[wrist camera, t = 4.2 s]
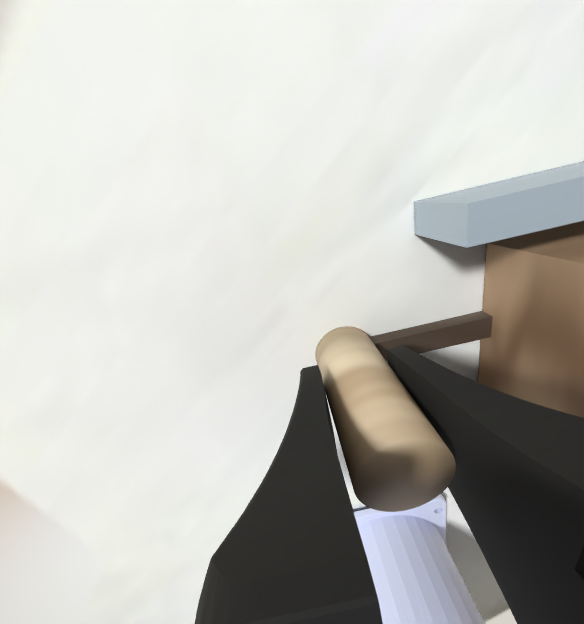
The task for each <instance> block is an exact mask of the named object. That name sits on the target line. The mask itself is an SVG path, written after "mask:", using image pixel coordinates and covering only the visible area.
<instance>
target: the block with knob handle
mask: <svg viewBox="0 0 584 624" xmlns="http://www.w3.org/2000/svg"><path fill="white" fill-rule="evenodd" d="M480 339H481V341H480V357H479V372H478V383H480V384H483V385H485V386H487V387H490V388H492V389H495V390H497V391H500V392H503V393H506V394H509V395H511V396H514V397H517V398H520V399H522V400H525V401H528V402H531V403H535V404H538V405H541V406H544V407H548V408H551V409H554V410H558V411H561V412H564V413H568V414H571V415H575V416H579V417H582V418H584V221H580V222H576V223H572V224H567V225H563V226H559V227H554V228H550V229H546V230H542V231H537V232H533V233H529V234H524V235H520V236H516V237H512V238H507V239H503V240H499V241H495V242H490V243H487V248H486V264H485V279H484V295H483V310H482V311H480V312H476V313H472V314H467V315H463V316H459V317H454V318H450V319H446V320H441V321H437V322H433V323H428V324H424V325H420V326H415V327H411V328H407V329H402V330H398V331H394V332H389V333H385V334H381V335H376V336H372V337H369V336H368V335H367V334H366V333H365V332H363V331H362V330H360V329H358V328H355V327H340V328H337V329H334V330H332V331H330V332H329V333H327V334H326V335H325V336H324V337H323V338H322V339H321V340H320V342H319V343H318V346H317V348H316V361H317V364H318V366H319V369H320V372H321V375H322V379H323V384H324V388H325V392H326V395H327V399H328V402H329V406H330V409H331V413H332V416H333V420H334V423H335V427H336V430H337V434H338V437H339V441H340V444H341V447H342V451H343V454H344V458H345V461H346V465H347V468H348V472H349V475H350V479H351V482H352V486H353V489H354V492H355V495H356V497H357V498H358V499H359V501H360V502H361V503H363V504H364V505H366V506H367V507H369V508H372V509H375V510H378V511H385V512H398V511H405V510H409V509H413V508H416V507H419V506H421V505H424V504H426V503H428V502H430V501H431V500H433V499H434V498H436V497H437V496H438V495H440V494H441V493H442V492H443V491H444V490H445V489H446V488H447V487H448V485H449V484H450V483H451V481H452V479H453V477H454V474H455V470H456V462H455V458H454V456H453V454H452V453H451V451H450V450H449V448H448V447H447V446H446V444H445V443H444V441H443V440H442V439H441V437H440V436H439V434H438V433H437V432H436V430H435V429H434V427H433V426H432V425H431V423H430V422H429V420H428V419H427V418H426V416H425V415H424V413H423V412H422V411H421V409H420V408H419V406H418V405H417V404H416V402H415V401H414V399H413V398H412V397H411V395H410V394H409V392H408V391H407V390H406V388H405V387H404V385H403V384H402V383H401V381H400V380H399V378H398V377H397V376H396V374H395V373H394V371H393V370H392V369H391V367H390V366H389V364H388V363H387V362H386V361H388V358H387V349H391V348H395V347H400V346H404V347H406V348H408V349H410V350H412V351H414V352H416V353H418V354H419V353H423V352H427V351H432V350H436V349H440V348H445V347H449V346H454V345H458V344H462V343H467V342H471V341H475V340H480Z"/></svg>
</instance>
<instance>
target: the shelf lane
mask: <svg viewBox="0 0 584 624" xmlns="http://www.w3.org/2000/svg"><path fill="white" fill-rule="evenodd" d="M414 219H415V235H419V236H422V237H426V238H430V239H434V240H438V241H442V242H446V243H450V244H454V245H458V246H462V247H466V248H468V247H472V246H477V245H481V244H485V243H489V242H494V241H498V240H502V239H507V238H511V237H515V236H519V235H524V234H528V233H532V232H537V231H541V230H545V229H549V228H554V227H558V226H562V225H566V224H571V223H575V222H579V221H584V162H580V163H575V164H571V165H567V166H563V167H558V168H554V169H550V170H546V171H542V172H537V173H533V174H529V175H525V176H520V177H516V178H512V179H508V180H504V181H499V182H495V183H491V184H487V185H482V186H478V187H474V188H470V189H466V190H461V191H457V192H453V193H449V194H444V195H440V196H436V197H432V198H428V199H423V200H419V201H415V202H414Z"/></svg>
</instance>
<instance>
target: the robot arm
mask: <svg viewBox="0 0 584 624" xmlns="http://www.w3.org/2000/svg"><path fill="white" fill-rule="evenodd" d="M387 358H388V364H389V366H390V367H391V369H392V370H393V371H394V373H395V374H396V376H397V377H398V378H399V380H400V381H401V383H402V384H403V385H404V387H405V388H406V390H407V391H408V392H409V394H410V395H411V397H412V398H413V399H414V401H415V402H416V404H417V405H418V406H419V408H420V409H421V411H422V412H423V413H424V415H425V416H426V418H427V419H428V420H429V422H430V423H431V425H432V426H433V427H434V429H435V430H436V432H437V433H438V434H439V436H440V437H441V439H442V440H443V441H444V443H445V444H446V446H447V447H448V448H449V450H450V451H451V453H452V454H453V456H454V458H455V462H456V470H455V474H454V477H453V479H452V481H451V483H450V484H449V485H448V488H449V490H450V491H451V493H452V495H453V497H454V499H455V501H456V503H457V504H458V506H459V508H460V510H461V512H462V514H463V516H464V518H465V520H466V521H467V523H468V525H469V527H470V529H471V531H472V533H473V535H474V537H475V539H476V541H477V543H478V545H479V547H480V548H481V550H482V552H483V554H484V556H485V558H486V560H487V562H488V564H489V567H490V569H491V571H492V573H493V575H494V577H495V579H496V581H497V583H498V585H499V587H500V589H501V591H502V593H503V595H504V597H505V599H506V601H507V603H508V605H509V607H510V609H511V611H512V614H513V616H514V618H515V620H516V622H517V624H584V418H582V417H579V416H575V415H571V414H568V413H564V412H561V411H558V410H554V409H551V408H548V407H544V406H541V405H538V404H535V403H531V402H528V401H525V400H522V399H520V398H517V397H514V396H511V395H509V394H506V393H503V392H500V391H497V390H495V389H492V388H490V387H487V386H485V385H483V384H480V383H478V382H476V381H473V380H471V379H469V378H466V377H464V376H462V375H460V374H458V373H455V372H453V371H451V370H449V369H447V368H445V367H443V366H441V365H439V364H437V363H435V362H433V361H431V360H429V359H427V358H425V357H423V356H422V355H420V354H418V353H416V352H414V351H412V350H410V349H408V348H406V347H404V346H400V347H395V348H391V349H387ZM300 373H301V376H300V385H299V390H298V395H297V399H296V402H295V406H294V410H293V413H292V416H291V419H290V422H289V425H288V428H287V431H286V433H285V436H284V438H283V441H282V443H281V445H280V447H279V450H278V452H277V454H276V456H275V458H274V460H273V462H272V464H271V466H270V468H269V470H268V472H267V474H266V476H265V478H264V479H263V481H262V483H261V485H260V486H259V488H258V489H257V491H256V493H255V494H254V496H253V498H252V499H251V501H250V503H249V504H248V506H247V507H246V509H245V511H244V512H243V514H242V515H241V517H240V518H239V520H238V521H237V523H236V524H235V525H234V527H233V528H232V530H231V531H230V532H229V534H228V535H227V537H226V538H225V539H224V541H223V542H222V544H221V545H220V546H219V548H218V549H217V551H216V552H215V553H214V555H213V556H212V557H211V560H210V564H209V567H208V570H207V574H206V577H205V581H204V585H203V589H202V592H201V596H200V599H199V604H198V609H197V614H196V620H195V624H485V622H484V620H483V618H482V616H481V614H480V612H479V610H478V608H477V606H476V604H475V602H474V600H473V598H472V596H471V594H470V592H469V590H468V588H467V586H466V584H465V582H464V580H463V579H462V577H461V575H460V573H459V571H458V569H457V567H456V565H455V563H454V561H453V559H452V557H451V555H450V553H449V551H448V549H447V547H446V501H445V499H444V497H443V496H442V495H441V494H440V495H438V496H437V497H436V498H434V499H433V500H431V501H430V502H428V503H426V504H424V505H421V506H419V507H416V508H413V509H409V510H405V511H398V512H385V511H378V510H375V509H372V508H369V509H365V510H360V511H355V512H353V508H352V505H351V502H350V498H349V495H348V491H347V488H346V484H345V481H344V477H343V474H342V470H341V467H340V463H339V459H338V456H337V450H336V444H335V438H334V432H333V427H332V422H331V417H330V412H329V408H328V403H327V398H326V393H325V389H324V384H323V379H322V375H321V372H320V369H319V366H318V365H316V366H311V367H307V368H303V369H302V370H301V372H300Z"/></svg>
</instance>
